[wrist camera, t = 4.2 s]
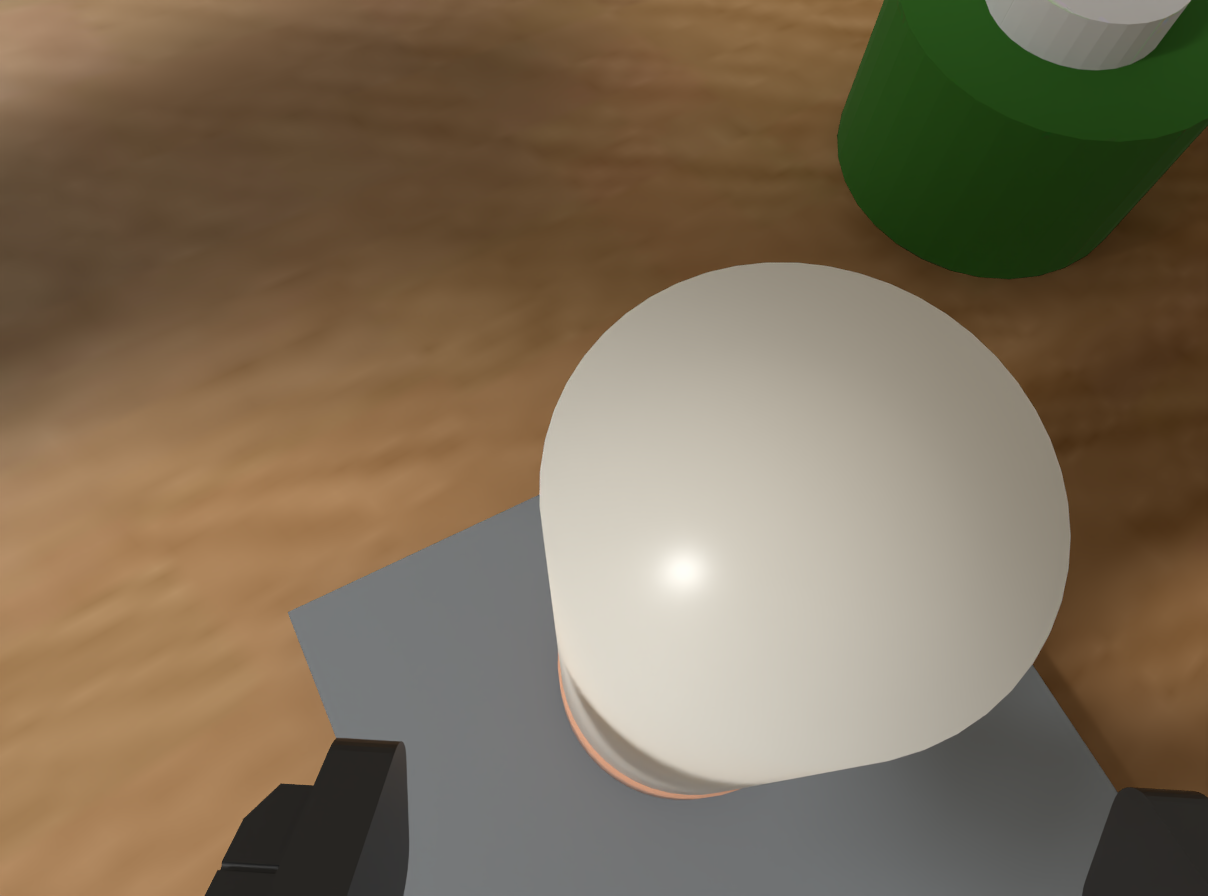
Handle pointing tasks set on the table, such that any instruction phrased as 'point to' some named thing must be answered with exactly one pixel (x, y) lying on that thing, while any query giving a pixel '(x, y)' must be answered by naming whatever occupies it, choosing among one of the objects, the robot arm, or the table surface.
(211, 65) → the table surface
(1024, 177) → the candle
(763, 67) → the table surface
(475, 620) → the board
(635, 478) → the white capsule lamp
